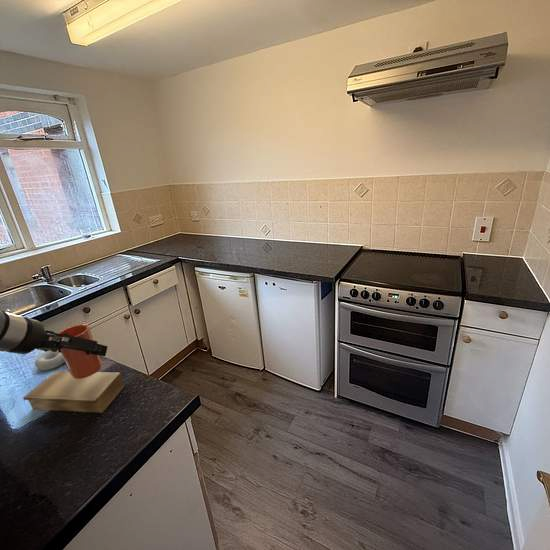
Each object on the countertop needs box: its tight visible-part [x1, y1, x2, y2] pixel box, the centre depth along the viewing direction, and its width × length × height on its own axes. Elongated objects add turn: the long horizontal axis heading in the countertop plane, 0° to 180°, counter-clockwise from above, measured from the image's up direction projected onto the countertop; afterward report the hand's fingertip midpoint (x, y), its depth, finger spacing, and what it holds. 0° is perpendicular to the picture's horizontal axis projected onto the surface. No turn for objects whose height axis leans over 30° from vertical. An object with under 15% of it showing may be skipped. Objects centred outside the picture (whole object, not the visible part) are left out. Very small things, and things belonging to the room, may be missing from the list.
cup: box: [58, 323, 104, 379], centre depth 79 cm, size 7×7×12 cm
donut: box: [34, 350, 66, 371], centre depth 103 cm, size 10×4×10 cm
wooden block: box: [22, 370, 126, 414], centre depth 85 cm, size 22×11×5 cm, turn 82°
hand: (92, 351), depth 83 cm, fingers closed on cup, 7 cm apart
